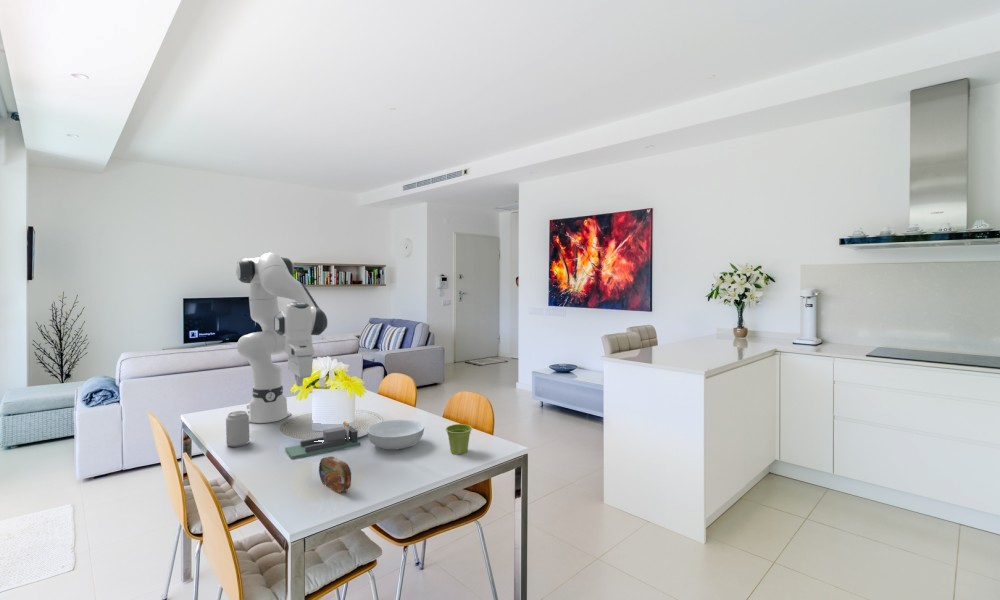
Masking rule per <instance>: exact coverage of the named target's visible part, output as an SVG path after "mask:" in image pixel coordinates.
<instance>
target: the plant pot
mask: <svg viewBox="0 0 1000 600" xmlns="http://www.w3.org/2000/svg"><path fill="white" fill-rule="evenodd" d="M472 430H473V427H472V426H471V425H470V424H469V425H468V424H464V423H463V424H461V423H459V424H458V423H456V424H452V425H448V426H447V427H445V431H446V433H447V436H448V442H449V449H450V453H451V454H454V455H460V454H462V455H463V454H466V453H468V449H469V442H470V435H471V432H472Z"/></svg>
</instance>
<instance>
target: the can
mask: <svg viewBox="0 0 1000 600" xmlns="http://www.w3.org/2000/svg"><path fill="white" fill-rule="evenodd" d="M225 426H226V429H225V434H226V441H225V442H226V445H227V446H229V447H230V448H238V447H239V448H240V447H243V446H245V445H247V444H248V443H249V442H250V422H249V415H248V414H247V411H246V410H237V411H232V412H229V413H228V414H227V416H226V418H225Z"/></svg>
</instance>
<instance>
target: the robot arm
mask: <svg viewBox="0 0 1000 600" xmlns="http://www.w3.org/2000/svg"><path fill="white" fill-rule="evenodd" d="M294 270H295V269H294V265H293V261H291V259H290V258H287V257H283V256H281V255H280V254H278V253H274V252H266V253H264V254H262V255H261V256H260V257H251V258H249V257H246V258H245V257H244V258H241V259H239V261H237V263H236V266H235V274H236V276H237V279H238V280H239V281H240V282H241V283H244V284H249V288H248V302H249V311H250V318H251V320H252V321H254V322H255V323H257V324H258V325H259V326H260V328H261V330H262V331H256V332H251V333H248V334H244V335H242V336H241V337H240V338H239V339H238V341H237V342H236V349H237V352H238V354H239V355H240V356H241V357H242V358H244V359H246V361H247V362H248V364H249V365H250V368H251V370H252V375H253V376H252V379H253V387H252V391H251V392H252V393H251V394H252V398H251V400H250V401H249V403H247V404H246V410H247V411H246V412H247V414H248V415H249V423H254V424H264V423H265V424H266V423H275V422H278V421H281V420H284V419H285V418H287V417H290V416H291V415H292V412H291V411H288V402H287V397H286V396H284V394H283V393H284V387H283V384H282V369H281V367H280V365H277V364H276V363H274V362H273V359H272V356H275V355H280V354H283V353H285V354H286V355H287V368H288V370H290V371H291V372H292V373H293V375H294V381H295V385H296V386H297V388H298V387H303V382H304V379H308V378H311V377H312V374H313V360H314V359H313V356H314V355H315V349H314V347H313V337H312V336H320V335H321V334H323V332H325V330H326V329H327V328H328V318H327V314H326V313H325V311H323V310H322V308H320V307H319V306H318V304H317V303H316V300H315V298H313V296H312V294H311V293H310V292H309V290H308V288H307V287H306V285H304V284H303V283H302V282H301V281H298V279H296V278H295V277H294ZM278 297H279V298H283V299H289V300H292V301H291V302H289V303H287V304H286V308H285V309H284V310H281V311H279V303H278Z"/></svg>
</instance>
